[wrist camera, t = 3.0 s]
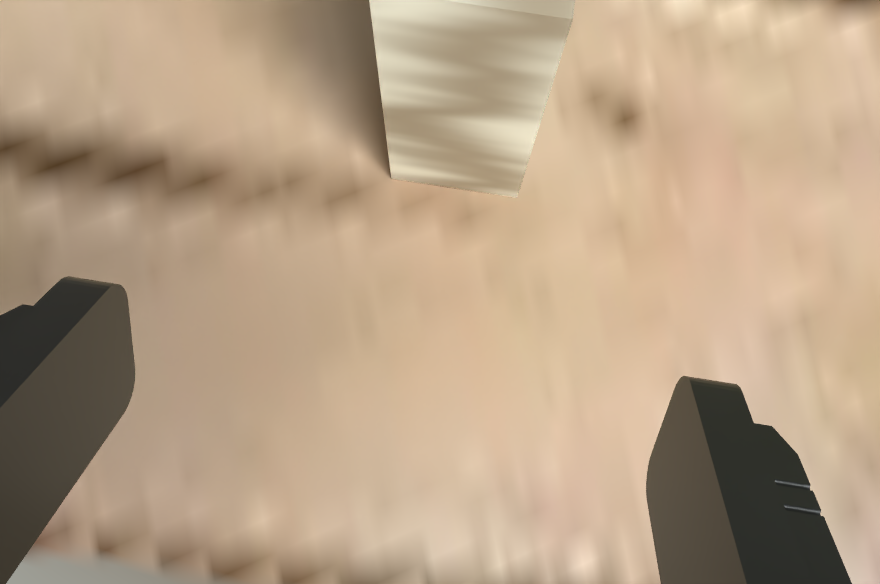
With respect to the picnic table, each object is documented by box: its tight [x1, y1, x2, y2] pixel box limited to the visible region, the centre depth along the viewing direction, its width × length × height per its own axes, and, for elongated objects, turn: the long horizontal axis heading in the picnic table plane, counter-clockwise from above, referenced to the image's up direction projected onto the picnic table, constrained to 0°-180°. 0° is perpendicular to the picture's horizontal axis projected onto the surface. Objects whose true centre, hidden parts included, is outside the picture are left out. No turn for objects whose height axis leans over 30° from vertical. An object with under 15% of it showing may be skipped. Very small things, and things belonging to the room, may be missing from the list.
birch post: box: [369, 0, 575, 198], centre depth 23 cm, size 4×4×11 cm
